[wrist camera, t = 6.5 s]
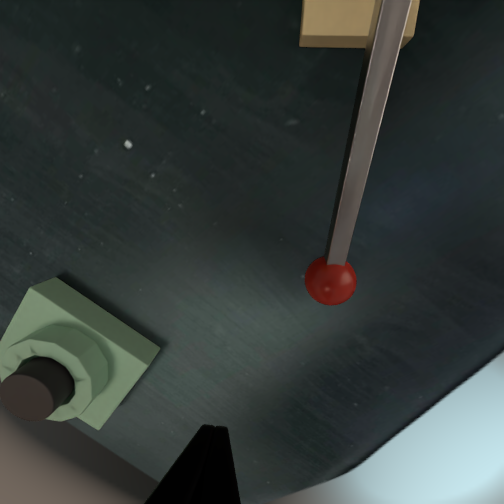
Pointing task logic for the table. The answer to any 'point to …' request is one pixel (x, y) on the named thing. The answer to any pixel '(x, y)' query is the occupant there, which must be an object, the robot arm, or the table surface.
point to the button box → (77, 349)
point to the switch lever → (359, 152)
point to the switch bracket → (344, 23)
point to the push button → (36, 389)
